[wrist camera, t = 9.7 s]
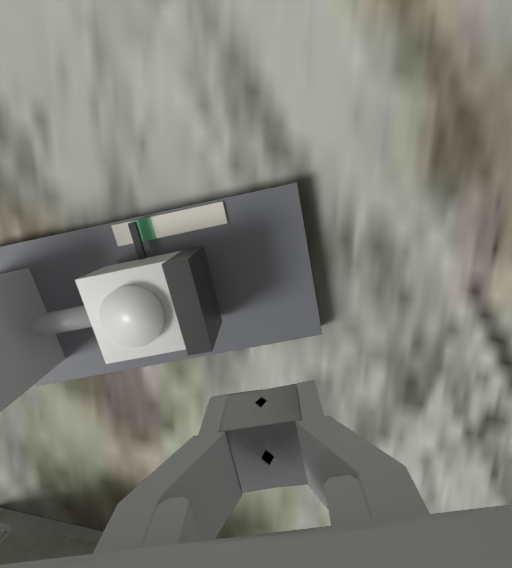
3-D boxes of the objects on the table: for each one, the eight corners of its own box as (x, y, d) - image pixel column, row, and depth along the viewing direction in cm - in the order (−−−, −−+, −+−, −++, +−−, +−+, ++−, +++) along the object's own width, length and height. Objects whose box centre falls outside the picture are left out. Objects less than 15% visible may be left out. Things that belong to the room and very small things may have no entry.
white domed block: (194, 208, 23) (175, 212, 18) (222, 320, 25) (212, 351, 20) (30, 244, 24) (-31, 256, 19) (71, 348, 26) (26, 384, 21)
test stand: (294, 183, 24) (314, 174, 15) (318, 327, 27) (347, 393, 18) (-8, 248, 26) (-155, 277, 17) (47, 376, 29) (-53, 459, 20)
